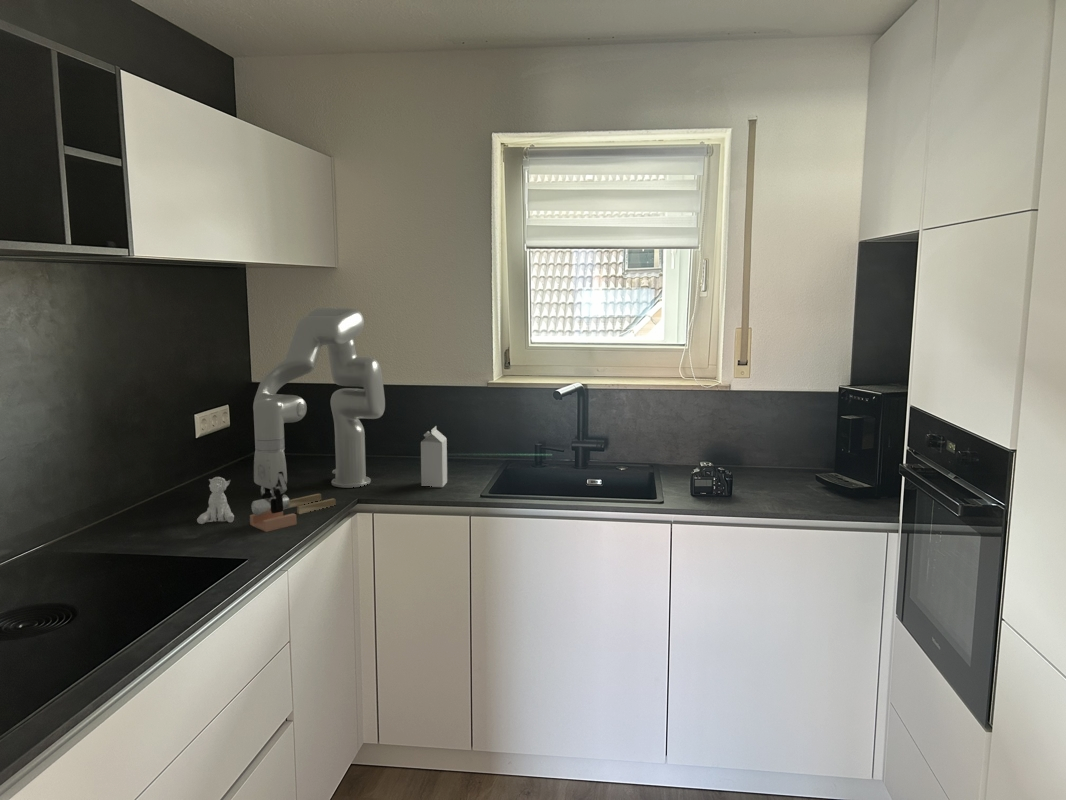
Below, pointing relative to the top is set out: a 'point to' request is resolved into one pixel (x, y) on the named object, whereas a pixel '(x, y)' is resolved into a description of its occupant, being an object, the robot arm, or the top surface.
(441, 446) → the milk carton
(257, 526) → the cradle
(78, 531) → the top surface
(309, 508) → the channel beam
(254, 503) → the grey cylinder
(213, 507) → the white creature statuette
